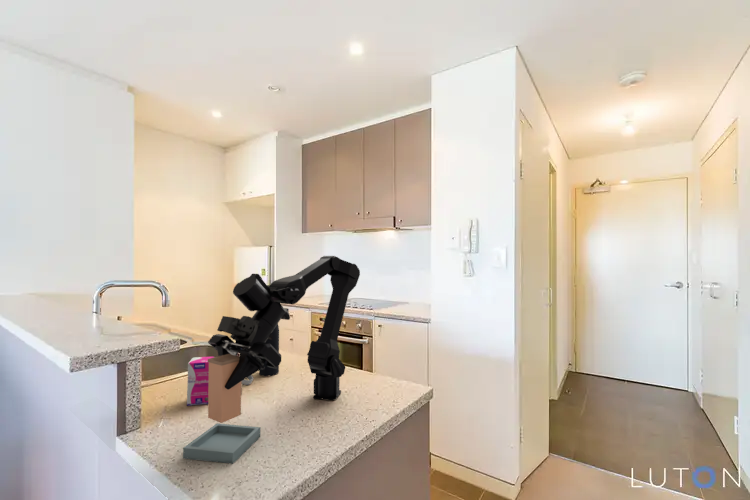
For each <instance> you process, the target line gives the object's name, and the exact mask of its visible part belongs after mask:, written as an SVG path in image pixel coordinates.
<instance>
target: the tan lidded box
mask: <svg viewBox="0 0 750 500" xmlns="http://www.w3.org/2000/svg"><path fill="white" fill-rule="evenodd" d="M239 358H240V355H231V354H226V355H222V356H218V355H217V356H216V357H215V356H214V358H210V359H208V362H209V384H208V404H207V418H208V419H210V420H212V421H215V422H217V423H219V424H224V423H225V422H227V421H230V420H233V419H235V418H236V417H240V416H241V414H242V395H241V382H239V383H238V384H236V385H235V386H233V387H232V388H230V389H229V390H228V389H226V388H225V385H226V383H227V381H228V379H229V377H230V376H231V374H232V372H233V371H234V369H235V367H236V366H237V364H238V363H239Z"/></svg>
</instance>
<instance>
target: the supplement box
mask: <svg viewBox="0 0 750 500" xmlns="http://www.w3.org/2000/svg"><path fill="white" fill-rule="evenodd" d="M214 357H215V356H214V355H213V356H200V357H199V356H196V357H192V358H191V359H190V361H189V362H188V363H187V390H186V391H187V392H186V393H187V394H186V395H187V396H186V406H187V407H188V406H198V405H208V384H209V362H208V359H210V358H214Z"/></svg>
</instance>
